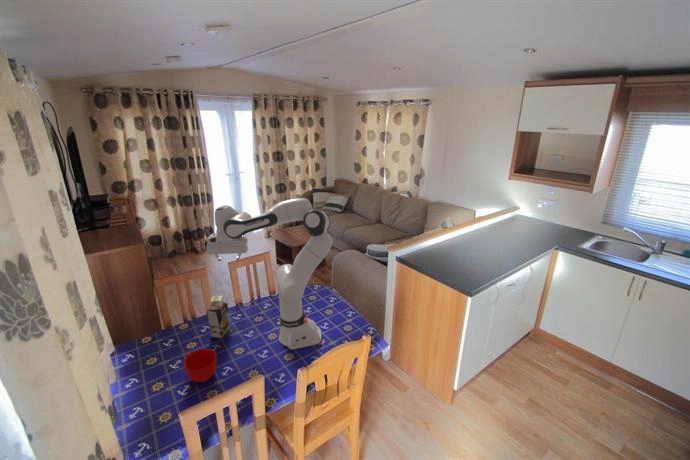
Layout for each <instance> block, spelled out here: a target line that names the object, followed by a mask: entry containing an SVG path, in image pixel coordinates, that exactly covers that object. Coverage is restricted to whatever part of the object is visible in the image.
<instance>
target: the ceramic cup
mask: <svg viewBox="0 0 690 460" xmlns="http://www.w3.org/2000/svg"><path fill="white" fill-rule="evenodd" d="M184 357H185V359H184V362H183V365H184V366H183V367H184V370H185V373H186V375H187V376H188V377H189V379H191V381H194V382H196V383H206V382H207V381H208V380H209V379H210V378H211V377H212V376H213V375H214V373H215V372H216V370H217V363H218V361H217V354H216V352H215V350H212V349H209V348H202V349H198V350H195V351H193V352H191V353H190V352H187V353H185V355H184Z"/></svg>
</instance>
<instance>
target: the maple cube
mask: <svg viewBox="0 0 690 460" xmlns="http://www.w3.org/2000/svg"><path fill="white" fill-rule="evenodd" d="M209 303H210V308H211V310H217V309H222V307H223V304H224V303H225V302H224V296H223V295H212V297H211V299H210V301H209Z"/></svg>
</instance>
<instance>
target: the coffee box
mask: <svg viewBox="0 0 690 460" xmlns="http://www.w3.org/2000/svg"><path fill="white" fill-rule="evenodd" d="M207 316H208V317H207V318H208V323H209V324H208V325H209V329H210V330H209V331H210V336H211V337H212V338H218V339H222V338H223V337H224V336H225V335H226V333H228V331H229V330H230V329H231V323H230V313H229V306H228V302H224V304H223V307H222V309H217V310H211V307H210V308H209V309H208V310H207Z"/></svg>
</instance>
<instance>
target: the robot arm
mask: <svg viewBox="0 0 690 460" xmlns="http://www.w3.org/2000/svg"><path fill="white" fill-rule="evenodd" d="M296 221H297V222H298V221H302V222H303V226H304V228H305V229H306V230H307V232H308V234H309V236H310V238H309V240H308V241H307V243H305V245H304V246H303V247H302V249H301V250H300V251H299V253H297V255H296V256H295V258H294V261H293V263H292V264H290V263H286V264H282V265H281V266H279V268H278V270H277V272H276V273H277V274H276V281H277V282H276V283H277V290H278V299H279V300H278V301H279V312H280V315H279V325H280V330H279V337H278V341H279V343H280V344H281V345H283V346H286V347H288V348H289V350H297V349H302V348H306V347H310V346H311V347H312V346H314V345H315V346H316V345H318V344H320V343H321V341H322V337H323V335H322V331H321V328H320V327H319V326H318V325H317V324H316V322H315V321H314V320H313V319H310V318H308V317H307V314H306V311H304V312H303V300H302V298H303V296H304V294H305V288H306V286H307V284H308V282H309V281H310V278H311V276H312V274H313V273H314V271H315V269H317V267H318V266H319V265H320V264H321V262H322V261H323V260H324V258H325V257H326V256H327V254H328V253H329V252H330V249H331V248H332V246H333V244H334V240H333V237H332V235H330V234H329V233H328V230H329V228H330V227H331V219H330V216H329V215H328V214H327V213H325V212H324V211H323V210H319V209H313V206H312V202H310V200H309V199H308V198H306V197H300V198H292V199H287V200H282V201H280V202H278V203H275V204H274V205H272V206H271V207H270V208H269V209H267V210H266V211H265V212H263V213H261V214H259V215H257V216H254V217H252V215H251V214H250V213H248V212H246V211H242V210H241V211H240V210H237V209H236V208H235V209H234V207H232V206H231V205H227V204H226V205H221V206H219V207H217V208H216V209H215V211H214V223H215V227H216V229H215V230H216V231H215V232H213V233H211V234H210V235H209V236H208V237H207V243H206V253H207V254H208V255H214V257H215V258H216V259H217V262H222V256H219V255H228V254H229V255H230V254H231V255H232V254H237V256H236V261H240V259H241V256H242V254H247V253H248V250H249V247H248V241H249V240H248V238H247V237H246V236H245V235H246V234H249V233H252V232H254V231H255V232H256V231H258V230H262V229H265V228H270V227H274V226H278V225H284V224H288V223H293V222H296Z"/></svg>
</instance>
